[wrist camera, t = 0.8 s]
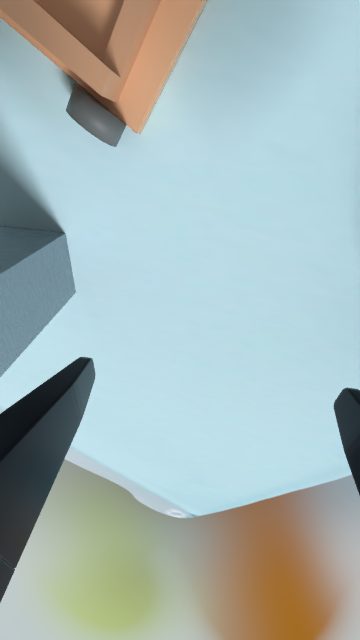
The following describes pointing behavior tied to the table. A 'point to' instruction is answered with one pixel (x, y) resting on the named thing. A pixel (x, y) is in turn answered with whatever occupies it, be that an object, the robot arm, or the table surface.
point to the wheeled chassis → (108, 53)
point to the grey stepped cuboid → (30, 286)
